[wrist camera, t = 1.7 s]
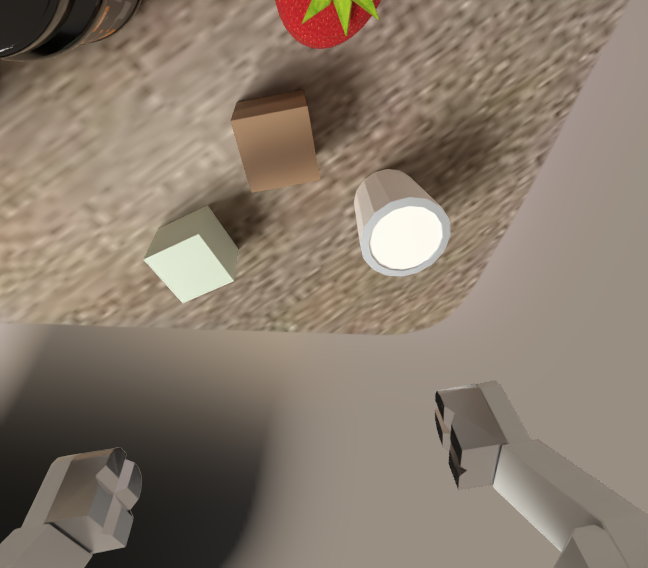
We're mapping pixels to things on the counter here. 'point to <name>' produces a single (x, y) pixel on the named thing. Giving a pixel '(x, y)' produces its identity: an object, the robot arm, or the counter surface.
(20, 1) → the supplement container
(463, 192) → the counter surface
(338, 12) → the strawberry
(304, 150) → the walnut block
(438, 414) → the robot arm
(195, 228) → the sage block
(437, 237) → the shot glass
